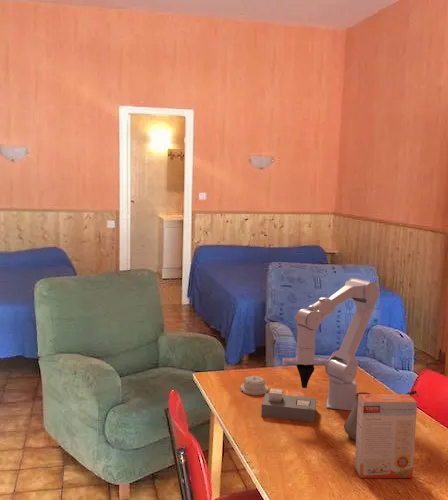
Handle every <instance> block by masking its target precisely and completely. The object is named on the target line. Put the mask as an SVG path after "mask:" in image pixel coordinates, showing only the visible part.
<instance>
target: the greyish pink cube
mask: <svg viewBox="0 0 448 500" xmlns="http://www.w3.org/2000/svg"><path fill="white" fill-rule="evenodd" d="M268 393H269V402H275V403H282V397H283V395H284V394H283V393H284V391H283V388H282V389H281V388H270V390H269V392H268Z"/></svg>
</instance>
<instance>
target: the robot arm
mask: <svg viewBox="0 0 448 500" xmlns="http://www.w3.org/2000/svg"><path fill="white" fill-rule="evenodd" d="M380 294H381V292H380V288H379V285H378V284H377V282H375V281H369V280H364V279H360V278H357V277H351V278H350V279H349V280H346V281H345V283H344V286H342V287H341V288H339V290H336V292H335V293H333V294H332V295H331V296H329V297H320V298H318V301H316V302H314V303H313V304H310V305H309V306H308V307H306V308H301V309H299V310H297V312H296V314H295V316H294V317H293V318H294V322H295V324H296V330H297V341H296V342H297V343H296V356H294V357H285V358H284V357H283V358H282V363H281V364H282V366H283V367H287V366H296V368H297V371H298V374H299V376H300V377H299V378H300V382H301V383H300V384H301V386H300V387H302V389H307V387H308V383H309V380H310V379H311V376H312V375H313V373H314V372H315V366H317V367H319V366H320V367H321V366H323V367H324V370H325V374H326V375H327V378H328V393H327V396H328V397H327V398H326V409H335V410H344V411H350V412H351V411H352V409H353V407H354V405H355V403H356V398H355V396H354V395H355V394H356V393H357V385H358V384H357V381H355V378H356V377H357V370H358V366H359V362H358V360H357V359H356V354H357V352H358V348H359V346H360V344H361V341H362V338H363V337H364V334H365V332H366V329H367V327H368V324H369V322H370V319H371V317H372V315H373V313H374V309H375V305H376V303H377V301H378V299H379V295H380ZM350 299H351V300H352V302H353V303H354V305H355V306H356V308H355V311H354V313H353V316H352V319H351V320H350V323H349V325H348V327H347V330H346V332H345V335H344V337H343V340H342V341H341V342H342V343H341V345H340V347H339V349H338V350H336V351H333V352H332V353H331V355H330V357H329V358H328V359H327V358H319V357H315V355H316V335H317V334H316V333H317V329H318V328H319V326H320V324H321V322H322V321H323V320H324V319H326V318H328V316H330V315H332V314H333V313H334V311H335V309H336V308H335V307H337V306H339V305H341V304H342V303H344V302H346V301H348V300H350Z"/></svg>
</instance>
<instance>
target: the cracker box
mask: <svg viewBox="0 0 448 500" xmlns="http://www.w3.org/2000/svg"><path fill="white" fill-rule="evenodd" d="M417 410H418V402H417V401H416V399H415V398H414V397H413V396H410V395H409V394H407V393H401V394H399V393H398V394H397V393H396V394H395V393H391V394H390V393H389V394H388V393H386V394H385V393H384V394H383V393H379V394H378V393H377V394H376V393H375V394H374V393H370V394H358V411H357V431H356V441H355V453H354V456H355V457H354V469H355V471H356V473H357V475H358V477H359V478H360V479H413V472H414V471H413V470H414V457H415V444H416V443H415V441H416V430H417V429H416V428H417V427H416V425H417V412H418V411H417Z"/></svg>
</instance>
